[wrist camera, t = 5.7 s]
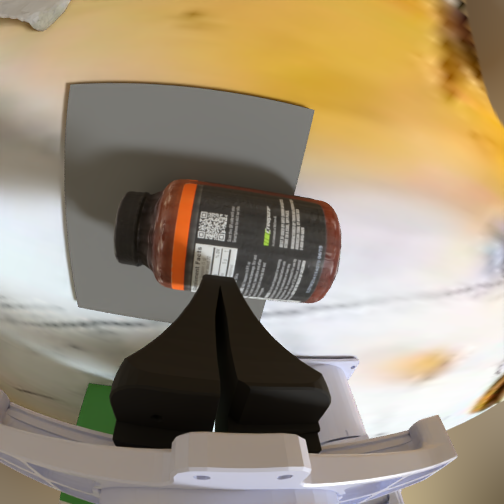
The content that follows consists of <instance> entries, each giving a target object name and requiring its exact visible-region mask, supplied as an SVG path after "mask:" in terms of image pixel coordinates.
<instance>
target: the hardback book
mask: <svg viewBox="0 0 504 504" xmlns="http://www.w3.org/2000/svg"><path fill="white" fill-rule="evenodd" d="M111 387H112V386H106V385H98V384H91V383H89V385H88V388H87V391H86V394H85V397H84V400H83V404H82V407H81V410H80V414H79V417H78V421H77V425H76V426H80V427H83V428H87V429H91V430H95V431H99V432H103V433H107V434H111V435H113V433H114V428H115V423H116V418H115V415H114V413H113V410H112V407H111V404H110V399H109V395H110V391H111ZM59 504H94V503H91V502H88V501H85V500H82V499H79V498H77V497H74V496H71V495H69V494H66V493H64V492H61V495H60V501H59Z"/></svg>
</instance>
